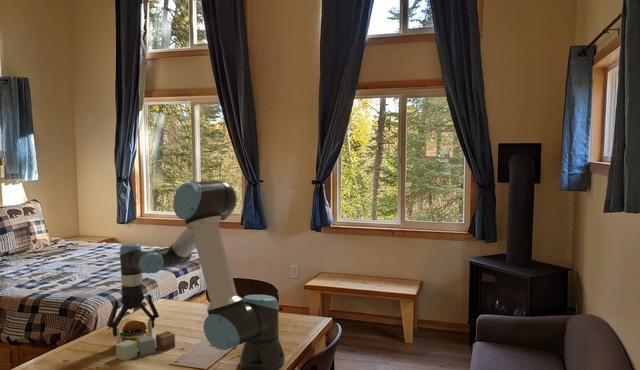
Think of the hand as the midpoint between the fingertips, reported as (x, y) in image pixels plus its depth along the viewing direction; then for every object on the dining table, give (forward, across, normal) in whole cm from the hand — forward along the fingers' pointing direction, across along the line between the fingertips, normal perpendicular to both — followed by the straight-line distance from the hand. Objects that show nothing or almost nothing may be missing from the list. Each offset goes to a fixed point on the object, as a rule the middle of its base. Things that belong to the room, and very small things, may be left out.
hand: (134, 340), depth 186 cm
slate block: (+1, -1, +12) cm, 12 cm away
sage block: (+1, +6, +12) cm, 13 cm away
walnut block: (+1, -8, +12) cm, 14 cm away
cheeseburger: (+1, 0, 0) cm, 1 cm away
